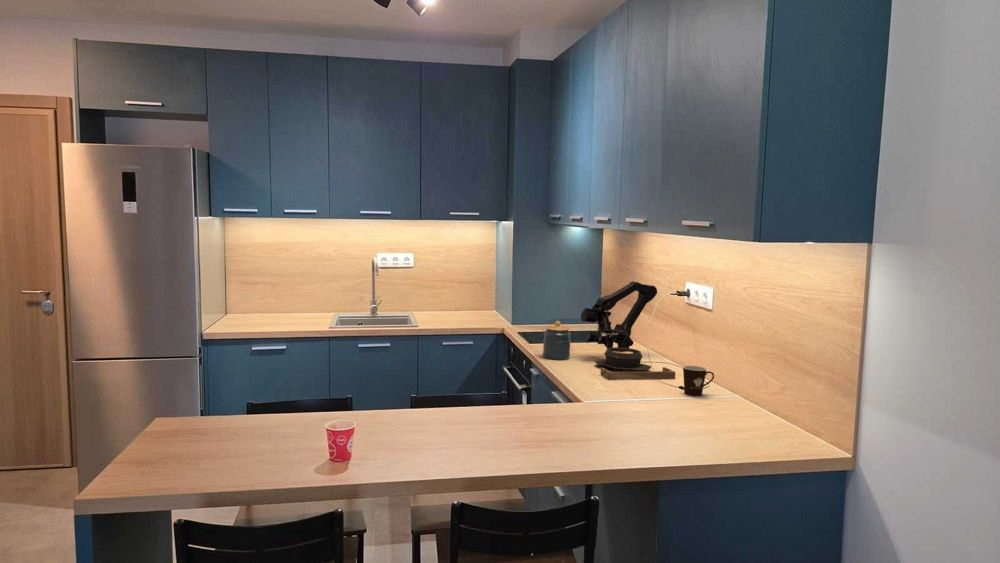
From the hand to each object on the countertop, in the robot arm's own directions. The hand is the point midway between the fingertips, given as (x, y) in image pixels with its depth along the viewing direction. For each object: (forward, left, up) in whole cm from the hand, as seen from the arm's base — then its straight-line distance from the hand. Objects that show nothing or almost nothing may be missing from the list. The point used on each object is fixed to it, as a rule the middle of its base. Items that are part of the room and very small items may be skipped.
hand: (611, 351), depth 297 cm
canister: (-14, -22, -6) cm, 26 cm away
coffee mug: (+56, +12, -6) cm, 58 cm away
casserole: (+11, +1, -6) cm, 13 cm away
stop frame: (+27, +1, -5) cm, 27 cm away
